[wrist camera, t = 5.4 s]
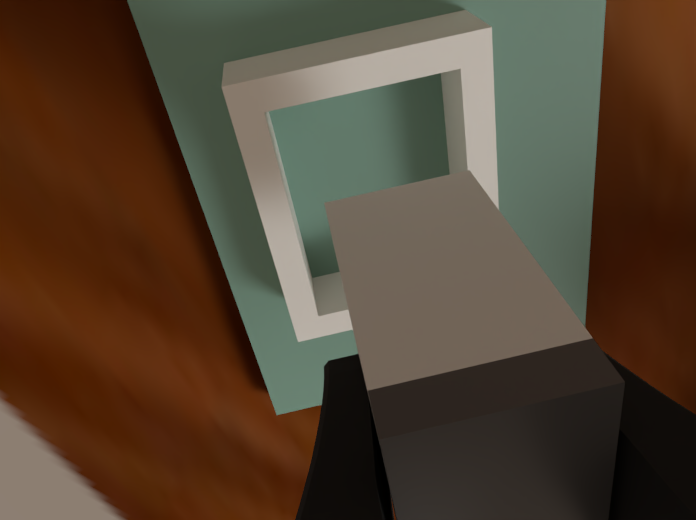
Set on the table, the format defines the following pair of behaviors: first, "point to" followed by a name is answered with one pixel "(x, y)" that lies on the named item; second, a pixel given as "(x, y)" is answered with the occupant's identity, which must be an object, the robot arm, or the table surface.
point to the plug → (473, 360)
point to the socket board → (372, 139)
